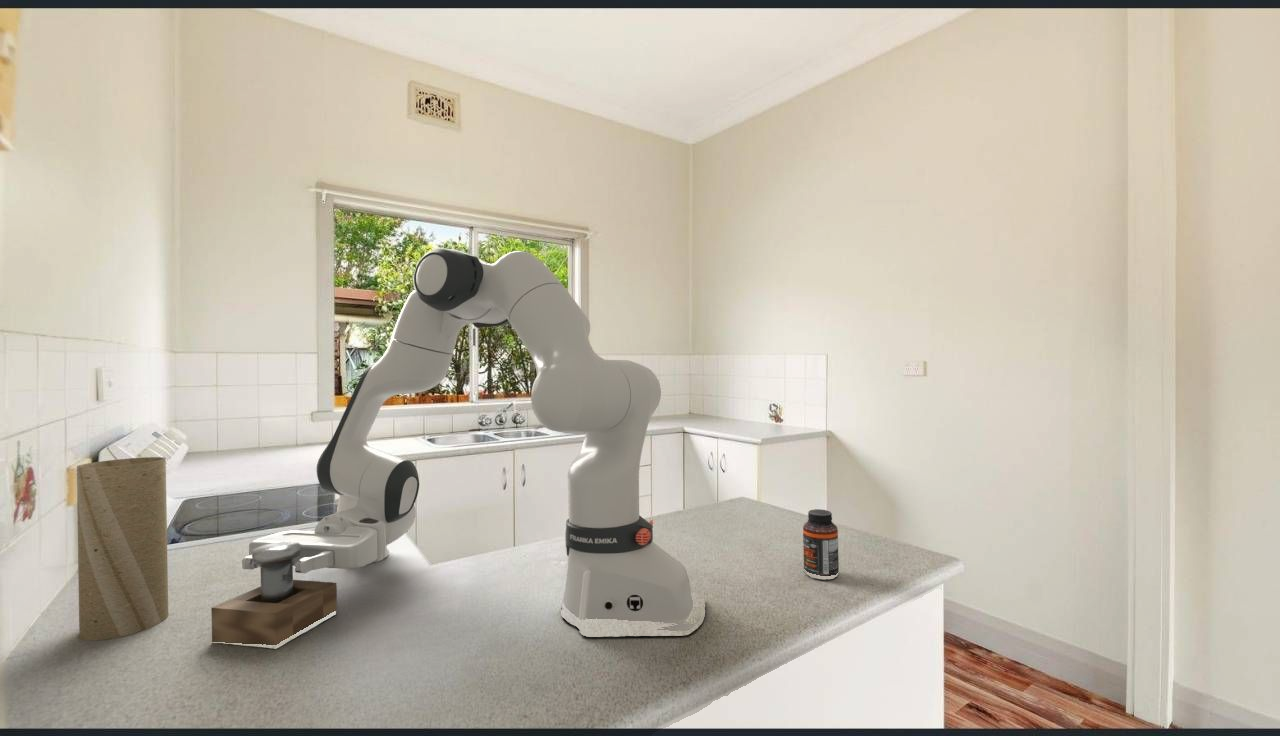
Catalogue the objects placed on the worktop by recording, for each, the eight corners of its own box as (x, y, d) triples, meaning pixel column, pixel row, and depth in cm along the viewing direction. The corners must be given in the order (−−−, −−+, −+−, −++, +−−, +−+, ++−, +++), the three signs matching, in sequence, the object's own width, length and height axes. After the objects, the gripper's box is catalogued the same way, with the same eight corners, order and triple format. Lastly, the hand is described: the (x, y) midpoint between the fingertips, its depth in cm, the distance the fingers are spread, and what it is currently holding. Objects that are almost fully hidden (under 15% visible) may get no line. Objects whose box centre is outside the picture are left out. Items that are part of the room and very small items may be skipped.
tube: (102, 617, 87) (99, 460, 87) (179, 606, 91) (177, 455, 91) (62, 646, 78) (59, 470, 78) (150, 632, 81) (147, 464, 82)
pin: (310, 620, 84) (309, 542, 84) (277, 639, 78) (275, 555, 78) (278, 617, 85) (277, 540, 86) (242, 635, 80) (241, 553, 80)
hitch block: (337, 614, 86) (336, 582, 86) (276, 649, 75) (275, 613, 75) (278, 609, 88) (278, 578, 88) (212, 643, 78) (211, 607, 78)
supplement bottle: (796, 572, 99) (795, 510, 99) (822, 567, 101) (820, 506, 102) (820, 584, 94) (818, 517, 94) (846, 577, 96) (844, 513, 96)
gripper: (291, 517, 97) (215, 541, 83) (392, 521, 93) (329, 547, 79) (291, 553, 97) (215, 583, 83) (393, 559, 92) (330, 591, 79)
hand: (272, 566), depth 81 cm, fingers open, 8 cm apart
